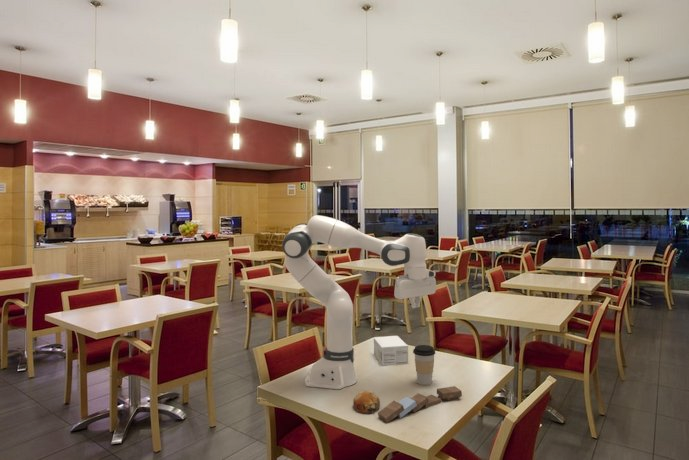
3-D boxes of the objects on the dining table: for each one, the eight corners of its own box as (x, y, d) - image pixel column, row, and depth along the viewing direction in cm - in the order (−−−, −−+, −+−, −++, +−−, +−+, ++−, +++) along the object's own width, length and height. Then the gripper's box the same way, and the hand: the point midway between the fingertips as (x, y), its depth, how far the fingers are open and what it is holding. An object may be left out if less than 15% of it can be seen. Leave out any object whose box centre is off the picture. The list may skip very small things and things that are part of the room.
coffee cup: (435, 387, 186) (435, 351, 185) (412, 386, 187) (412, 350, 187) (435, 378, 195) (435, 344, 194) (413, 377, 197) (413, 343, 196)
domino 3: (413, 407, 163) (427, 397, 167) (403, 403, 167) (417, 393, 171) (414, 412, 163) (428, 402, 167) (404, 408, 167) (418, 398, 171)
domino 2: (391, 412, 163) (407, 400, 167) (400, 418, 159) (416, 405, 163) (390, 408, 163) (406, 396, 167) (399, 413, 159) (415, 401, 163)
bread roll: (379, 413, 171) (378, 391, 174) (380, 413, 161) (380, 389, 165) (353, 413, 171) (353, 391, 174) (353, 413, 162) (353, 390, 165)
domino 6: (448, 397, 172) (461, 392, 177) (438, 393, 176) (451, 388, 181) (448, 402, 172) (461, 397, 177) (438, 398, 176) (451, 393, 181)
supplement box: (373, 355, 228) (373, 336, 228) (398, 353, 231) (398, 335, 230) (381, 366, 212) (381, 346, 211) (408, 364, 214) (408, 344, 214)
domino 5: (443, 393, 171) (461, 390, 173) (436, 388, 176) (454, 386, 178) (443, 398, 171) (461, 395, 174) (436, 393, 176) (454, 391, 178)
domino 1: (386, 418, 155) (402, 405, 159) (377, 412, 159) (393, 400, 163) (387, 423, 156) (404, 410, 160) (379, 417, 160) (395, 404, 164)
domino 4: (425, 404, 167) (441, 398, 171) (416, 399, 171) (431, 394, 175) (425, 409, 167) (441, 404, 171) (416, 404, 171) (431, 399, 175)
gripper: (401, 277, 173) (401, 312, 173) (438, 271, 184) (438, 305, 185) (390, 275, 178) (391, 309, 178) (427, 270, 190) (427, 302, 190)
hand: (415, 307), depth 182 cm, fingers closed
